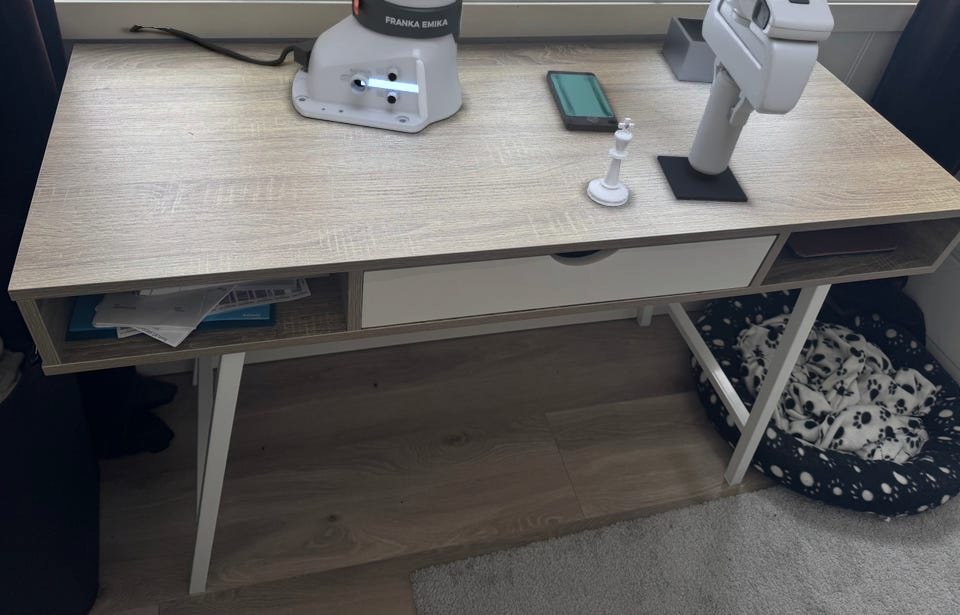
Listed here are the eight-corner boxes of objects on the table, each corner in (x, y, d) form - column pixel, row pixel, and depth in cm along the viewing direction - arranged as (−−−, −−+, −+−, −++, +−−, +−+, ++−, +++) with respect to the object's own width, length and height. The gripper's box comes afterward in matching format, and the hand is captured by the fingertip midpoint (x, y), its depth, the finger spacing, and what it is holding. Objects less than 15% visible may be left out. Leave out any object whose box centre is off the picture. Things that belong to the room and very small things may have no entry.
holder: (678, 80, 112) (690, 42, 108) (661, 52, 119) (672, 15, 115) (738, 84, 113) (752, 46, 109) (717, 56, 120) (730, 19, 116)
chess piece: (583, 181, 89) (602, 106, 82) (622, 183, 89) (644, 109, 82) (591, 205, 85) (611, 129, 78) (631, 207, 86) (655, 131, 79)
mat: (676, 199, 88) (677, 196, 88) (656, 158, 95) (657, 155, 94) (746, 202, 89) (748, 199, 89) (722, 161, 96) (724, 158, 95)
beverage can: (726, 180, 89) (763, 88, 80) (686, 171, 89) (719, 79, 81) (724, 159, 92) (760, 69, 84) (686, 151, 93) (718, 61, 84)
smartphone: (568, 122, 96) (546, 68, 107) (566, 130, 97) (545, 76, 108) (621, 124, 98) (595, 71, 108) (619, 132, 98) (593, 79, 109)
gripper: (711, -49, 83) (675, 67, 92) (780, 27, 68) (729, 155, 78) (763, -44, 84) (722, 70, 93) (843, 32, 69) (785, 158, 79)
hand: (726, 110), depth 85 cm, fingers closed on beverage can, 5 cm apart
